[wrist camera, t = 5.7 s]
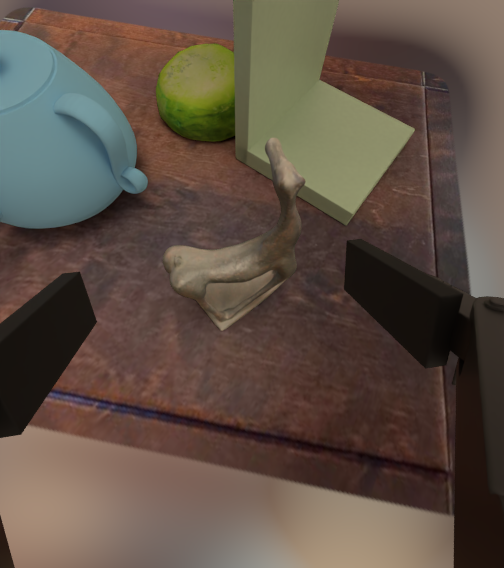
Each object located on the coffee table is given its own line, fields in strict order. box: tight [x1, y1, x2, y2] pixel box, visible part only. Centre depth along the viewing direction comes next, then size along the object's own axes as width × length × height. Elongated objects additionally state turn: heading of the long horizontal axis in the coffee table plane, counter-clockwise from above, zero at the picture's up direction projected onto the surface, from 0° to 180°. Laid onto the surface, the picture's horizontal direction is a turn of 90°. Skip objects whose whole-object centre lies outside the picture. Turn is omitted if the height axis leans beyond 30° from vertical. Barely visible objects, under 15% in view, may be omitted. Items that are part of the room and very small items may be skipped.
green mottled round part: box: [156, 44, 235, 142], centre depth 32 cm, size 12×11×5 cm
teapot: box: [0, 30, 148, 229], centre depth 23 cm, size 20×20×13 cm
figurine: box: [163, 138, 306, 331], centre depth 19 cm, size 11×6×15 cm, turn 84°
